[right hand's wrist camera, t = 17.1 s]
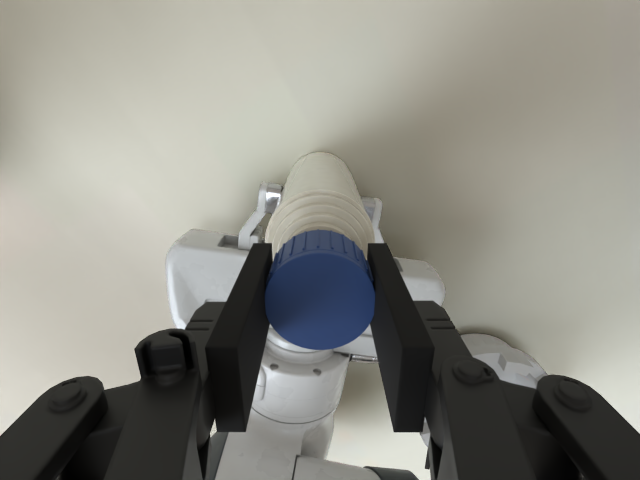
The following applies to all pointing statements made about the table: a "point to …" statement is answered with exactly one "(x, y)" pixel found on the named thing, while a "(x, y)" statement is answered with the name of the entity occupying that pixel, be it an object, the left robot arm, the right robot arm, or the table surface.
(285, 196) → the bottle
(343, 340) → the cap
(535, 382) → the flag stand
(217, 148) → the table surface
